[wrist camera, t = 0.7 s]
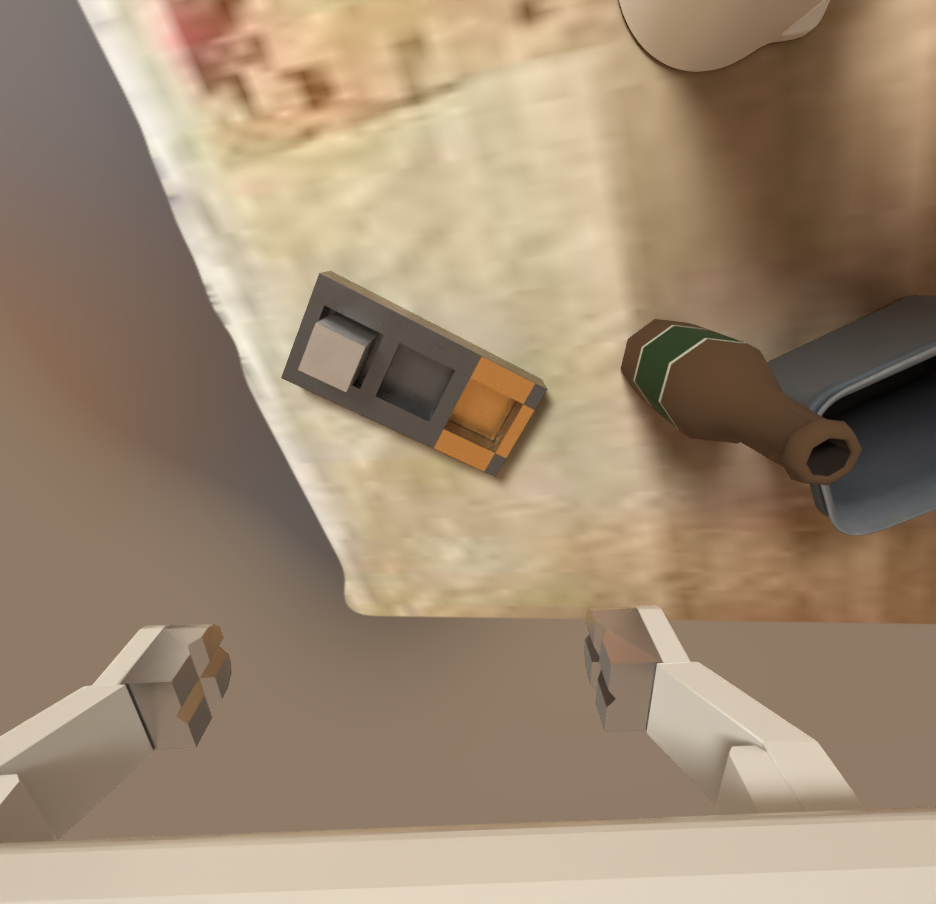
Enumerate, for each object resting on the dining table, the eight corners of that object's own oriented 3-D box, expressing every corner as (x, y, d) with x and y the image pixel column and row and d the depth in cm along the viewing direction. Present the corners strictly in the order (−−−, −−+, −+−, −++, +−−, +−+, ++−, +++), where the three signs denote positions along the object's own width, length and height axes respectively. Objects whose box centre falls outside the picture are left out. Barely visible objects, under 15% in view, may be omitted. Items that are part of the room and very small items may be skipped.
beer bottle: (602, 372, 47) (721, 485, 25) (651, 300, 45) (832, 356, 23) (665, 409, 49) (829, 545, 27) (716, 341, 46) (945, 431, 24)
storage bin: (939, 251, 43) (1146, 255, 30) (958, 398, 49) (1140, 456, 36) (707, 361, 47) (800, 408, 34) (748, 487, 53) (843, 568, 39)
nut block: (337, 311, 44) (315, 322, 38) (379, 332, 45) (365, 347, 39) (321, 352, 46) (297, 369, 39) (362, 371, 47) (346, 392, 40)
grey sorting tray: (330, 270, 43) (319, 273, 40) (541, 379, 48) (547, 389, 44) (293, 368, 47) (280, 378, 44) (493, 461, 51) (495, 476, 48)
